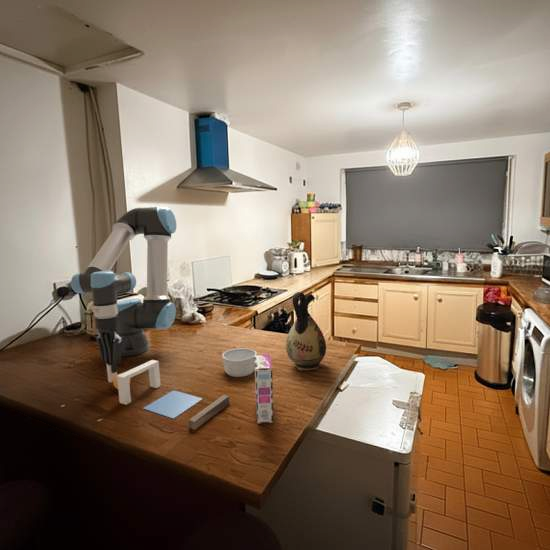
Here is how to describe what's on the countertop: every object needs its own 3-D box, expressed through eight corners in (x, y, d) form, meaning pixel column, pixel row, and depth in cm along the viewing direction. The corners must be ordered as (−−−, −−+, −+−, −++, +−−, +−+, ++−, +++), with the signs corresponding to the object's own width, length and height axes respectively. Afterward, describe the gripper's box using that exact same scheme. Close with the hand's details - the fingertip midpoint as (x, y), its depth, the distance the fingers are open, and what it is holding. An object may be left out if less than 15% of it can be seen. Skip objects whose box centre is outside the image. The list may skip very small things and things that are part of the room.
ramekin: (226, 364, 143) (225, 347, 142) (258, 363, 143) (258, 347, 142) (220, 379, 130) (219, 361, 129) (255, 378, 130) (255, 360, 129)
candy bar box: (274, 423, 101) (272, 368, 98) (256, 424, 100) (254, 369, 98) (271, 403, 112) (269, 353, 109) (255, 404, 111) (253, 354, 109)
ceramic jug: (299, 355, 150) (298, 286, 145) (333, 363, 141) (332, 289, 136) (276, 370, 136) (274, 293, 131) (311, 379, 127) (310, 297, 123)
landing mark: (142, 408, 111) (142, 408, 111) (173, 390, 122) (173, 390, 122) (173, 418, 104) (173, 418, 104) (202, 399, 116) (202, 398, 116)
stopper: (189, 428, 99) (188, 420, 99) (224, 402, 113) (223, 394, 113) (194, 430, 98) (194, 421, 98) (229, 403, 112) (228, 396, 112)
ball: (113, 373, 121) (121, 386, 120) (127, 367, 126) (135, 380, 124) (108, 382, 124) (116, 395, 122) (122, 376, 128) (130, 388, 127)
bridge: (119, 402, 115) (116, 375, 113) (154, 384, 127) (152, 359, 126) (125, 404, 113) (123, 377, 112) (160, 385, 126) (158, 361, 124)
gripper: (84, 316, 123) (91, 381, 126) (108, 320, 116) (115, 388, 120) (104, 311, 129) (110, 373, 133) (128, 315, 123) (134, 380, 126)
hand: (113, 380), depth 126 cm, fingers closed
